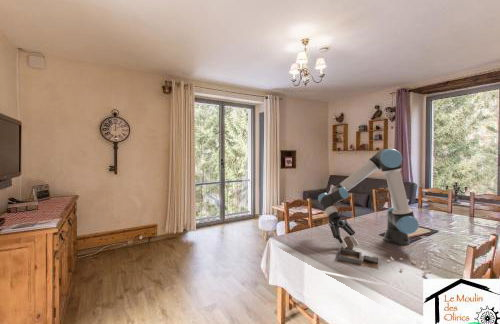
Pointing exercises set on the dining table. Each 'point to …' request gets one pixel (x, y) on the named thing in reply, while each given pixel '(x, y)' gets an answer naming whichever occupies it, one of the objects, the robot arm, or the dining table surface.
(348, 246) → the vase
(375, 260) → the grey tray board
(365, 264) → the flange board
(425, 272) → the game piece set
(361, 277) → the dining table surface
